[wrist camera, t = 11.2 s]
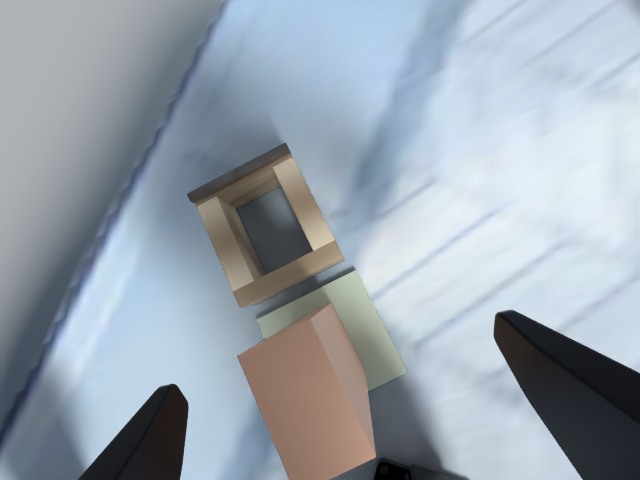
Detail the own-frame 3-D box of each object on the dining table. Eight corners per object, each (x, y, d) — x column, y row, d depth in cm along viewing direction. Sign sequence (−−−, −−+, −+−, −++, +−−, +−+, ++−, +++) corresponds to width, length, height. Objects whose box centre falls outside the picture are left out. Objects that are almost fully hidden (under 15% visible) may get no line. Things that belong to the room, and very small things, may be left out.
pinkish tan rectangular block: (365, 369, 21) (376, 457, 11) (325, 389, 21) (296, 495, 11) (331, 302, 22) (310, 319, 11) (293, 321, 22) (237, 356, 12)
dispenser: (344, 260, 23) (342, 254, 19) (256, 304, 23) (235, 308, 19) (295, 163, 24) (283, 138, 20) (213, 205, 25) (184, 189, 21)
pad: (407, 370, 21) (408, 372, 21) (302, 421, 22) (301, 423, 21) (355, 270, 23) (355, 269, 22) (257, 319, 23) (255, 319, 23)
